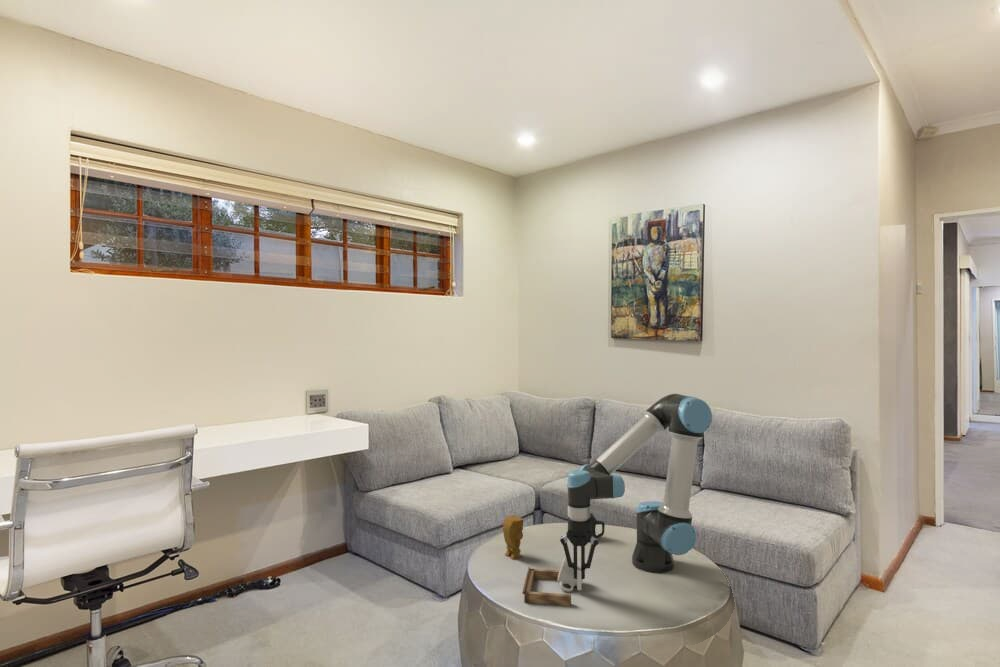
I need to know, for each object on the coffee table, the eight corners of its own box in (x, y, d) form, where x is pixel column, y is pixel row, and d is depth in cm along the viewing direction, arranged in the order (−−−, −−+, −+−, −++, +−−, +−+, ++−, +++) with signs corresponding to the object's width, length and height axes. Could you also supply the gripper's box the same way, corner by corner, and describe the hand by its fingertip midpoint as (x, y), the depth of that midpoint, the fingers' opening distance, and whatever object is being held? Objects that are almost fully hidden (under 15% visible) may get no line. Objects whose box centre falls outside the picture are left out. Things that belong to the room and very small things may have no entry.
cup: (580, 590, 180) (557, 581, 182) (576, 601, 185) (553, 592, 186) (587, 561, 188) (565, 553, 190) (582, 573, 193) (561, 564, 195)
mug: (574, 543, 226) (574, 516, 226) (576, 536, 235) (576, 510, 235) (603, 546, 223) (603, 519, 223) (605, 538, 232) (605, 512, 232)
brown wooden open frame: (572, 579, 193) (572, 569, 193) (571, 606, 174) (571, 595, 174) (528, 576, 196) (528, 566, 196) (522, 602, 177) (522, 591, 177)
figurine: (524, 557, 212) (524, 519, 212) (511, 561, 208) (511, 522, 208) (514, 552, 218) (514, 514, 218) (500, 555, 214) (500, 517, 214)
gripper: (598, 515, 186) (598, 584, 186) (560, 513, 188) (560, 582, 188) (598, 522, 179) (599, 594, 178) (559, 520, 181) (559, 592, 180)
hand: (579, 588), depth 183 cm, fingers closed, pressing on cup
